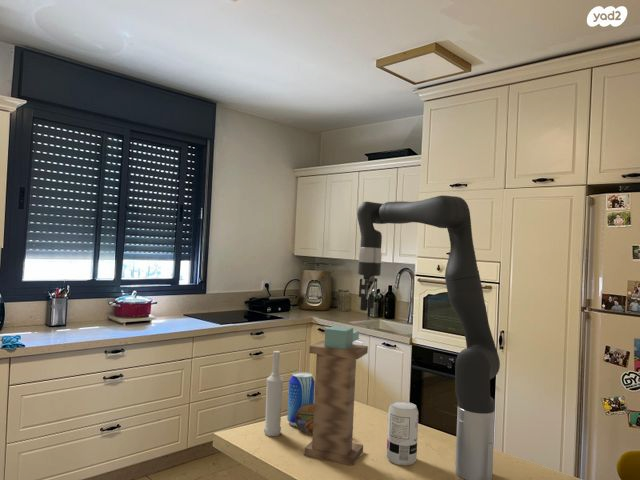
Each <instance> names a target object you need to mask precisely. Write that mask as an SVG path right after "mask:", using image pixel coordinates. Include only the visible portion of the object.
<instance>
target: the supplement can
mask: <svg viewBox="0 0 640 480" xmlns="http://www.w3.org/2000/svg"><path fill="white" fill-rule="evenodd" d="M387 418H388V419H387V439H386V440H387V441H386V458H387V459H388V461H389V462H390V463H391V464H395V465H397V466H412V465H413V464H415V462H417V460H418V459H417V457H418V456H417V455H418V435H419V431H418V428H419V410H418V407H417V405H416V404H414V403H412V402H409V401H405V400H404V401H403V400H401V401H400V400H399V401H398V400H395V401H392V402H391V403H390V405H389V407H388V416H387Z"/></svg>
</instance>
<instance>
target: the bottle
mask: <svg viewBox="0 0 640 480" xmlns="http://www.w3.org/2000/svg"><path fill="white" fill-rule="evenodd" d="M272 354H273V355H272V358H273V359H272V372H271V373H270V375H269V376H268V377H267V378H266V388H265V389H266V391H265V392H266V393H265V394H266V396H265V397H266V398H265V420H264V423H265V424H264V428H263V432H264V435H265V436H267V437H277V436H279V435H281V432H282V427H281V420H282V419H281V417H282V408H283V407H282V404H283V392H284V378H283V377H282V376H281V374H280V359H281V357H280V356H281V355H280V354H281V351H279V350H273V352H272Z"/></svg>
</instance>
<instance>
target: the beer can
mask: <svg viewBox="0 0 640 480" xmlns="http://www.w3.org/2000/svg"><path fill="white" fill-rule="evenodd" d="M314 397H315V379H314V377H313V374H312V373H310V372H306V371H297V372H293V373H292V375H291V377H290V378H289V381H288V397H287V400H288V401H287V415H286V419H287V422H288V423H289V425H290V426H292V427H295V426H296V428H298V427H297V425H296V422H295V415H296V412H297V411H298V409H299V408H300V407H301V406H303V405H305V404H314Z"/></svg>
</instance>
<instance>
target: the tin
mask: <svg viewBox="0 0 640 480" xmlns="http://www.w3.org/2000/svg"><path fill="white" fill-rule="evenodd" d="M313 416H314V404H305V405H303V406H301V407H300V408H299V409H298V411H297V412H296V415H295V422H296V425H297V427H296V428H298V429H299V430H301V432H304V433H307V432H308V433H309V434H310V433H311V434H313Z"/></svg>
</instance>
